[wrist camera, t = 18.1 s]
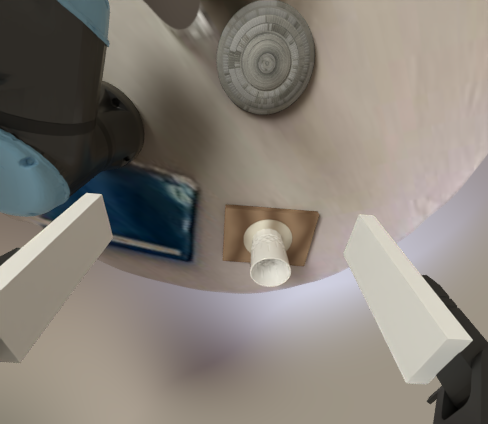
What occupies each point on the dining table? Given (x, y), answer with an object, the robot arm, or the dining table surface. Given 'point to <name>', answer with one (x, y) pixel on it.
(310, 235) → the walnut board
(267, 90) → the flying saucer
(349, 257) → the robot arm
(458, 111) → the dining table surface
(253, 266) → the white cup
